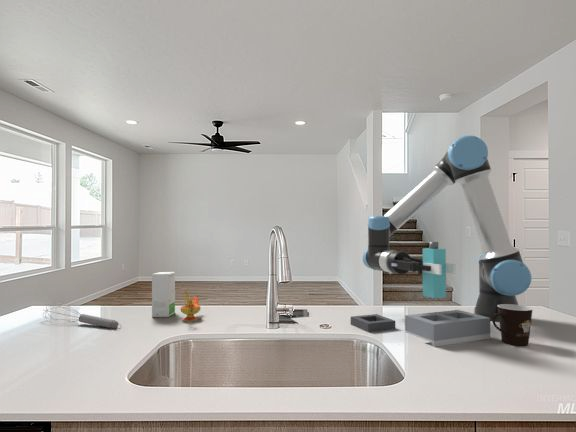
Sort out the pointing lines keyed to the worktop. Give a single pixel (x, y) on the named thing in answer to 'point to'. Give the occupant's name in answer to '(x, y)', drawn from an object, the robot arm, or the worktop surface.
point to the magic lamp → (190, 307)
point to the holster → (372, 323)
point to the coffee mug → (514, 324)
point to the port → (448, 327)
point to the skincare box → (163, 294)
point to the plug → (433, 282)
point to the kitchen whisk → (88, 319)
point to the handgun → (296, 314)
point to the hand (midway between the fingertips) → (447, 269)
